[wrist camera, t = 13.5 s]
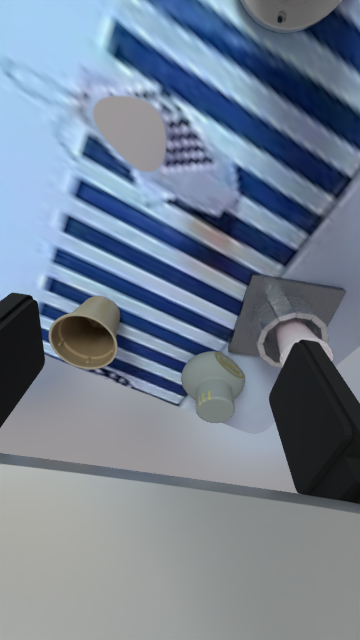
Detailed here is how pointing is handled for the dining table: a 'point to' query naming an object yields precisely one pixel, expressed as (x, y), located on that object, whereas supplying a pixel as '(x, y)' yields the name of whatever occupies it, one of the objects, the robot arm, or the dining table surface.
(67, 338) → the flower pot
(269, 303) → the duct collar
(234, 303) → the dining table surface
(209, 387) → the air freshener
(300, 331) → the smoothie
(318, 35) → the dining table surface
